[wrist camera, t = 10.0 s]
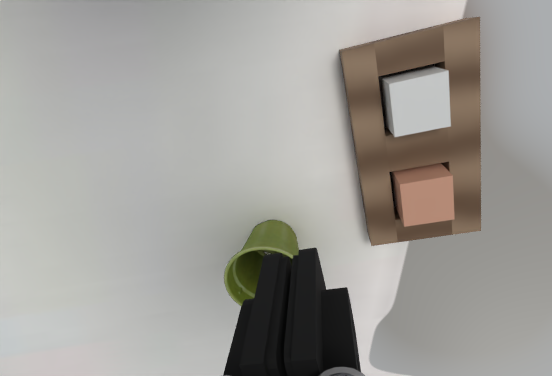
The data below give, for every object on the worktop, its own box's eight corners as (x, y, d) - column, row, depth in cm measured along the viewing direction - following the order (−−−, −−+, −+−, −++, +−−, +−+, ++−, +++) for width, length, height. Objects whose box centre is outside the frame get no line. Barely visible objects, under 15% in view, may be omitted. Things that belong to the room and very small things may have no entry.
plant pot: (319, 219, 43) (320, 261, 35) (297, 275, 47) (294, 324, 39) (248, 199, 43) (234, 236, 35) (232, 257, 47) (216, 302, 39)
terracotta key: (391, 170, 38) (399, 184, 34) (439, 161, 37) (452, 175, 33) (396, 209, 40) (404, 226, 36) (441, 201, 39) (454, 219, 35)
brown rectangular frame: (339, 49, 34) (341, 51, 32) (465, 18, 32) (479, 16, 30) (367, 232, 43) (371, 245, 40) (469, 217, 41) (480, 230, 38)
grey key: (381, 78, 34) (389, 84, 30) (433, 66, 33) (448, 70, 29) (386, 126, 36) (394, 137, 32) (436, 116, 35) (450, 126, 31)
